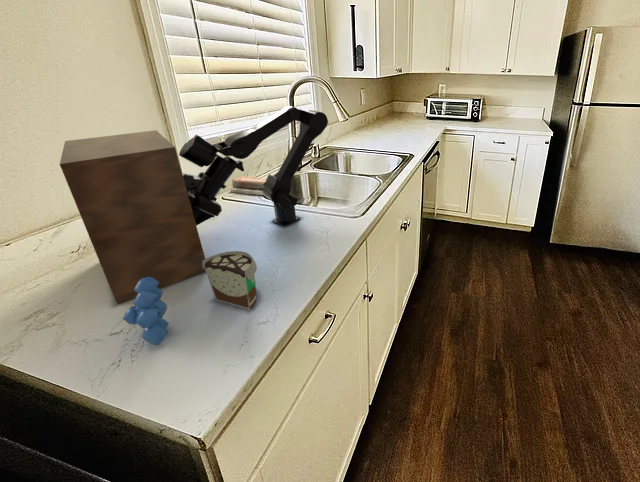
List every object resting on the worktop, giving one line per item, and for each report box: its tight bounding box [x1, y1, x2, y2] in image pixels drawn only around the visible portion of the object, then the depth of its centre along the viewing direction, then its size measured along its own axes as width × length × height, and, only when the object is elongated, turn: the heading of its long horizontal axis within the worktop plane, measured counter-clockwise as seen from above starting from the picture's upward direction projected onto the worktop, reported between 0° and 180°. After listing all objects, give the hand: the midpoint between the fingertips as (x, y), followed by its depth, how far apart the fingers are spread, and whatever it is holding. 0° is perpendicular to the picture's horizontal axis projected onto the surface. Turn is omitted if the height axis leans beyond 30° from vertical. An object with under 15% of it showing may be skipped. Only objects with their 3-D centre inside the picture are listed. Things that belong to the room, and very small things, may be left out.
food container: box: [202, 250, 258, 311], centre depth 71 cm, size 12×6×10 cm, turn 71°
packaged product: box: [229, 175, 267, 196], centre depth 133 cm, size 18×5×10 cm
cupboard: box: [59, 129, 206, 305], centre depth 80 cm, size 18×26×32 cm
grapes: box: [122, 277, 170, 346], centre depth 60 cm, size 12×7×12 cm, turn 31°
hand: (180, 224), depth 87 cm, fingers open, 9 cm apart
